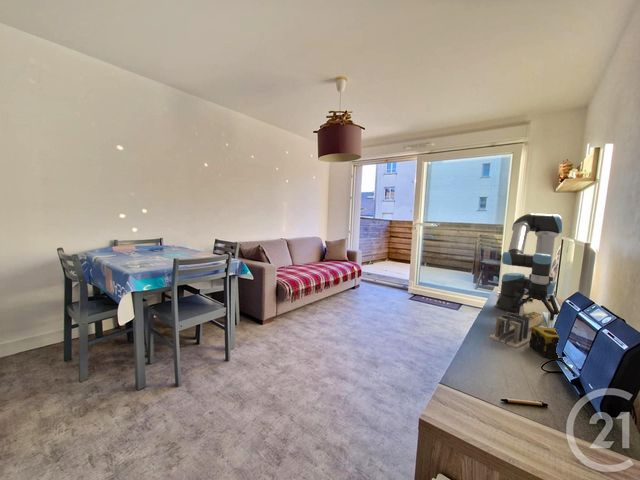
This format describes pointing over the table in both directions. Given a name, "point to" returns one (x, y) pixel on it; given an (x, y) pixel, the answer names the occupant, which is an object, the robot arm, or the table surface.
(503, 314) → the collar
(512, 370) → the table surface
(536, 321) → the long golden plank
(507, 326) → the collar
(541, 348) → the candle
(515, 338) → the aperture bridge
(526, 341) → the long cream board
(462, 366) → the table surface
